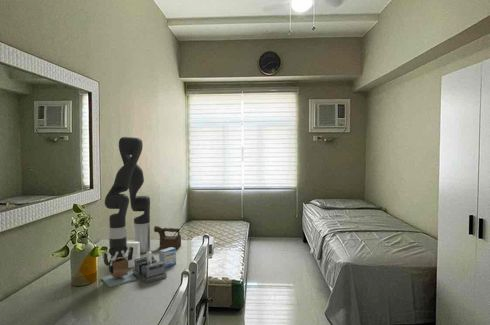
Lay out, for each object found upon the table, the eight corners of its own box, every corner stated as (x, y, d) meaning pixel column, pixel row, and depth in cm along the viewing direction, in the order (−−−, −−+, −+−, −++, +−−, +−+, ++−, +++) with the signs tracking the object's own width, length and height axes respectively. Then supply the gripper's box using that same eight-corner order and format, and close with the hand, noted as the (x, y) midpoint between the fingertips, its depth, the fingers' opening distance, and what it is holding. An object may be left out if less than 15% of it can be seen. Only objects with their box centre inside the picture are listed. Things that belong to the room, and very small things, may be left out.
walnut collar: (110, 274, 150) (109, 259, 150) (122, 271, 154) (122, 256, 154) (114, 278, 146) (114, 263, 145) (127, 274, 150) (127, 260, 149)
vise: (132, 273, 158) (132, 250, 157) (151, 267, 164) (151, 246, 164) (146, 283, 146) (146, 258, 145) (166, 277, 152) (166, 253, 152)
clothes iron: (158, 245, 203) (157, 224, 202) (182, 245, 201) (181, 225, 200) (153, 249, 195) (152, 227, 194) (177, 250, 193) (177, 228, 192)
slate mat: (101, 279, 151) (101, 277, 150) (126, 272, 158) (126, 270, 158) (110, 287, 142) (110, 285, 141) (136, 279, 149) (136, 278, 149)
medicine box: (164, 268, 163) (164, 252, 163) (159, 266, 166) (158, 250, 166) (176, 264, 170) (176, 248, 169) (170, 262, 172) (170, 246, 172)
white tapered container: (143, 261, 173) (142, 240, 173) (135, 268, 164) (135, 245, 164) (127, 261, 174) (126, 239, 173) (119, 267, 165) (118, 244, 165)
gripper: (129, 231, 157) (130, 265, 157) (99, 237, 147) (100, 272, 148) (136, 234, 151) (136, 269, 152) (104, 240, 141) (105, 277, 142)
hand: (118, 271), depth 150 cm, fingers closed on walnut collar, 5 cm apart
